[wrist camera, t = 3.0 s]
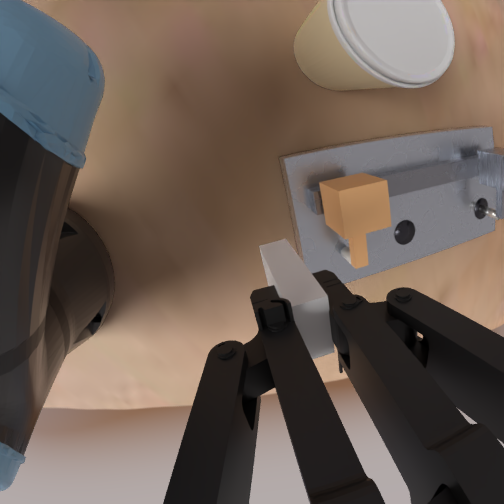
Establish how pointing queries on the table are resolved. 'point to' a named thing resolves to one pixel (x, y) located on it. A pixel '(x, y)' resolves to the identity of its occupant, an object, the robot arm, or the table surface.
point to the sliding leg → (356, 211)
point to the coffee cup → (375, 43)
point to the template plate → (400, 196)
